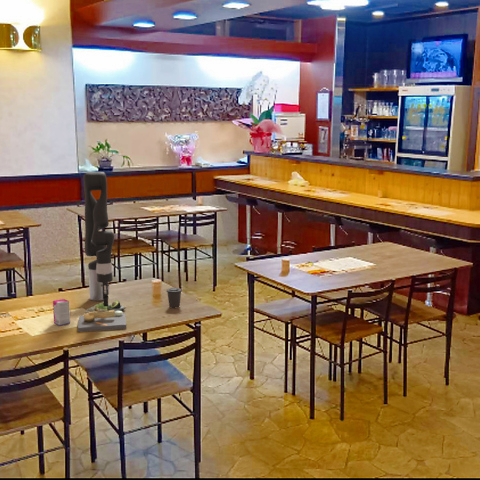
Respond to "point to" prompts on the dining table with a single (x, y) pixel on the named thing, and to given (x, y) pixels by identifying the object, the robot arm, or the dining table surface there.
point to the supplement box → (61, 312)
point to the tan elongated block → (98, 315)
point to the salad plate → (107, 307)
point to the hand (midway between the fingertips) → (106, 306)
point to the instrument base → (103, 323)
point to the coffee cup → (174, 297)
